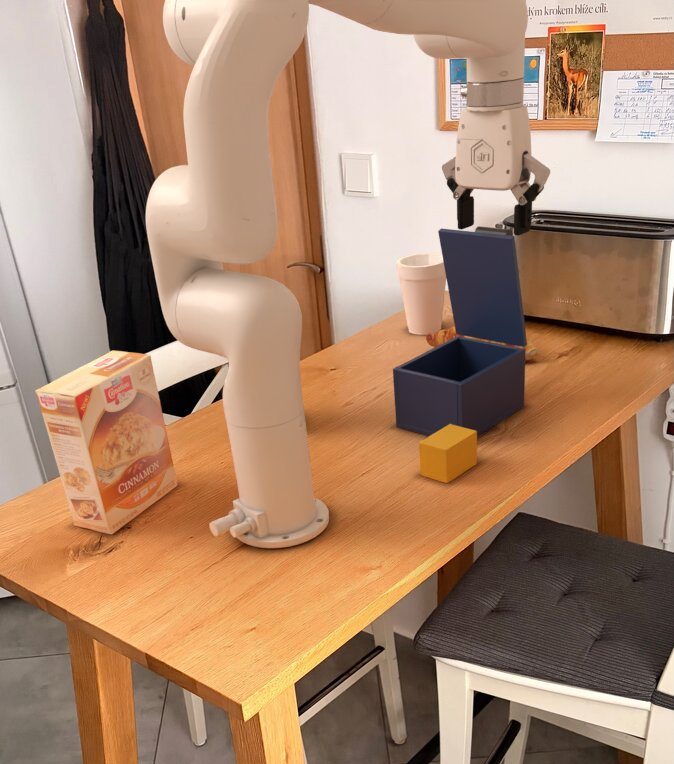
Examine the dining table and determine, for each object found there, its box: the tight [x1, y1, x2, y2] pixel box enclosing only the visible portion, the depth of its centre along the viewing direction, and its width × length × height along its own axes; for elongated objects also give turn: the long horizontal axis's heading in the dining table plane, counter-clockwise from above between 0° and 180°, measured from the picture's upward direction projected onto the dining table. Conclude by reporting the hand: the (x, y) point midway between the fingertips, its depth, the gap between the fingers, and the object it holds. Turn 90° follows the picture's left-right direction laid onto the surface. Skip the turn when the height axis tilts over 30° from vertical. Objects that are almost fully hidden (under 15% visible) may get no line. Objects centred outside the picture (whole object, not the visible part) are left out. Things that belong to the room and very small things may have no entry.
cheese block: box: [418, 424, 478, 484], centre depth 125 cm, size 7×5×5 cm, turn 137°
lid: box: [437, 225, 528, 347], centre depth 135 cm, size 17×13×5 cm
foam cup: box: [396, 252, 447, 336], centre depth 172 cm, size 10×9×13 cm
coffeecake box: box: [35, 349, 179, 536], centre depth 121 cm, size 15×7×20 cm, turn 151°
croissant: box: [425, 324, 539, 361], centre depth 160 cm, size 21×10×8 cm, turn 60°
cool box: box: [392, 336, 526, 437], centre depth 138 cm, size 16×13×9 cm
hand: (493, 230), depth 131 cm, fingers open, 9 cm apart
